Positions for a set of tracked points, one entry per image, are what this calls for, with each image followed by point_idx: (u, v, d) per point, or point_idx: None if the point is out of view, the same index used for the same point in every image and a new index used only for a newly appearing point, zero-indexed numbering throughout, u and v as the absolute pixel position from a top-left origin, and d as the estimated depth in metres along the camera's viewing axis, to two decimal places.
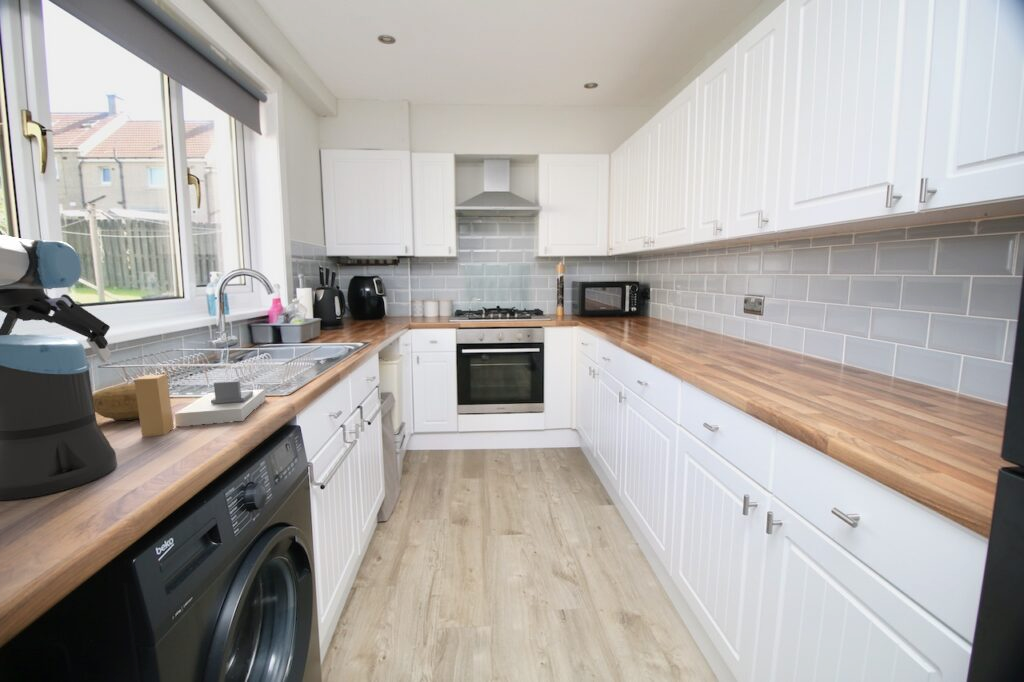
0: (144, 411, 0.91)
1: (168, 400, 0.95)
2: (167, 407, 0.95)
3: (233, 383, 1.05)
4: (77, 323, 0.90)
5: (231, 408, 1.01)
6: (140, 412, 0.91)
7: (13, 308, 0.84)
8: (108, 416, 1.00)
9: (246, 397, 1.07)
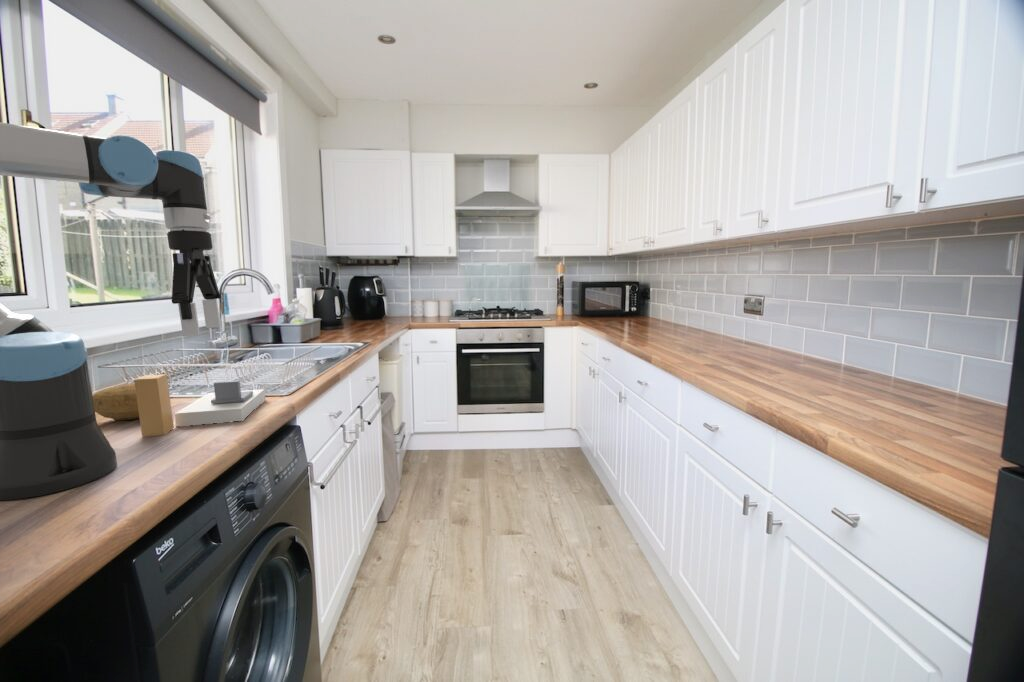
0: (144, 411, 0.91)
1: (168, 400, 0.95)
2: (167, 407, 0.95)
3: (233, 383, 1.05)
4: None
5: (231, 408, 1.01)
6: (140, 412, 0.91)
7: None
8: (108, 416, 1.00)
9: (246, 397, 1.07)
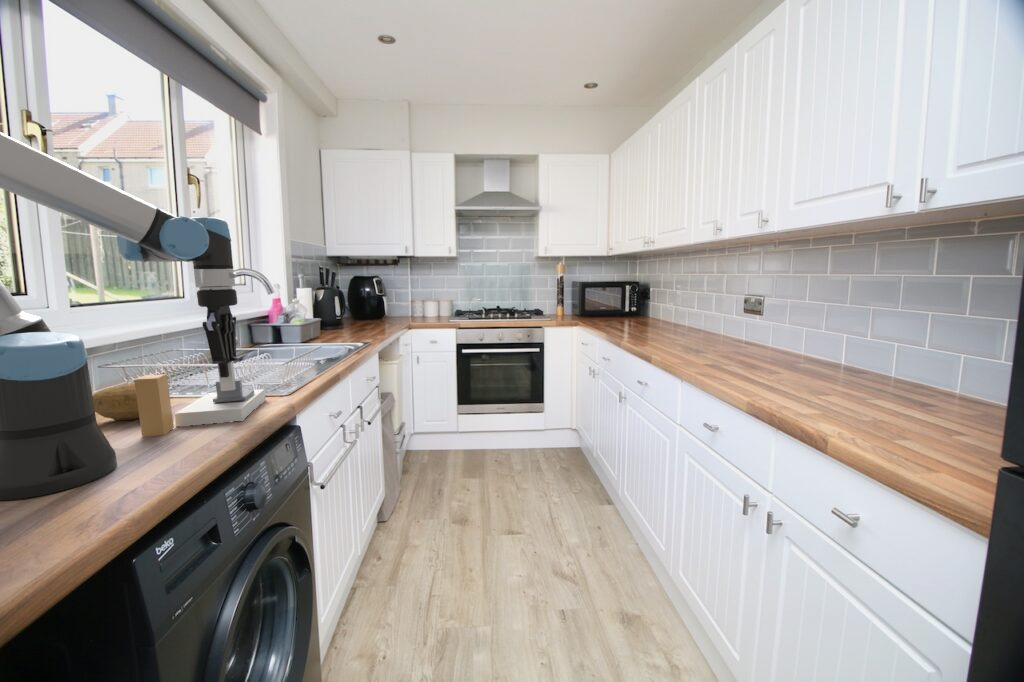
0: (144, 411, 0.91)
1: (168, 400, 0.95)
2: (167, 407, 0.95)
3: (235, 382, 1.06)
4: None
5: (231, 408, 1.01)
6: (140, 412, 0.91)
7: None
8: (108, 416, 1.00)
9: (247, 396, 1.08)
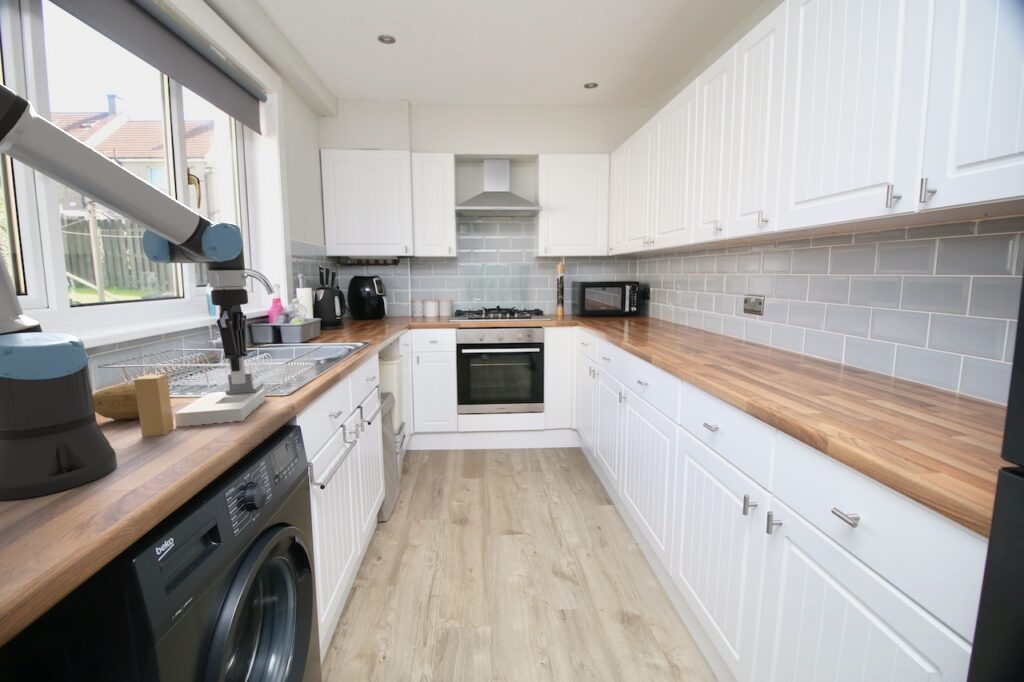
0: (144, 411, 0.91)
1: (168, 400, 0.95)
2: (167, 407, 0.95)
3: (246, 375, 1.13)
4: None
5: (231, 408, 1.01)
6: (140, 412, 0.91)
7: None
8: (108, 416, 1.00)
9: (257, 388, 1.16)
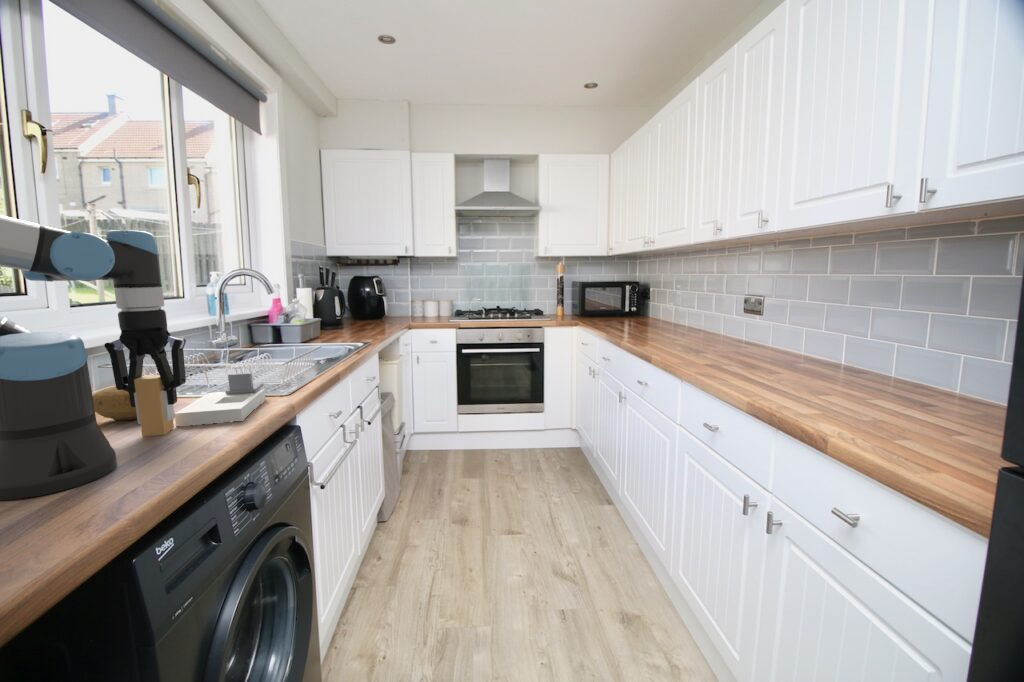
0: (144, 411, 0.91)
1: None
2: None
3: (246, 375, 1.13)
4: (167, 370, 0.93)
5: (231, 408, 1.01)
6: (140, 412, 0.91)
7: (134, 338, 0.90)
8: (108, 416, 1.00)
9: (257, 388, 1.16)
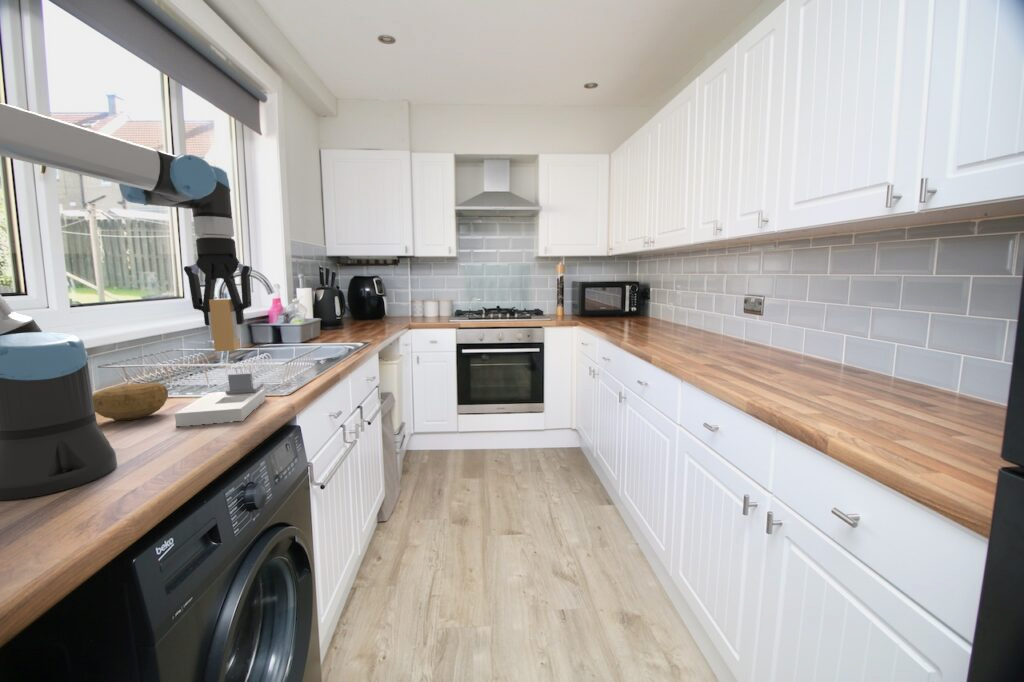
0: (217, 328, 1.03)
1: None
2: None
3: (246, 375, 1.13)
4: (236, 293, 1.05)
5: (231, 408, 1.01)
6: (213, 329, 1.03)
7: None
8: (108, 416, 1.00)
9: (257, 388, 1.16)
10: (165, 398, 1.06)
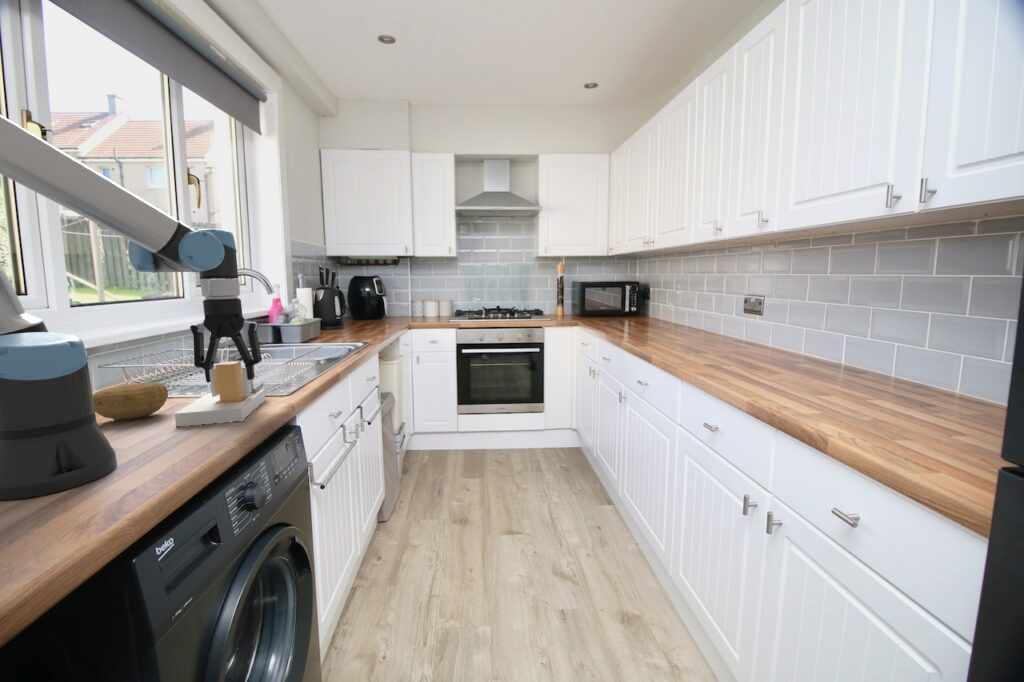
0: (224, 392, 1.05)
1: (242, 383, 1.09)
2: (241, 389, 1.09)
3: None
4: (246, 350, 1.07)
5: (231, 408, 1.01)
6: (220, 393, 1.05)
7: (216, 323, 1.04)
8: (108, 416, 1.00)
9: (257, 388, 1.16)
10: (165, 398, 1.06)
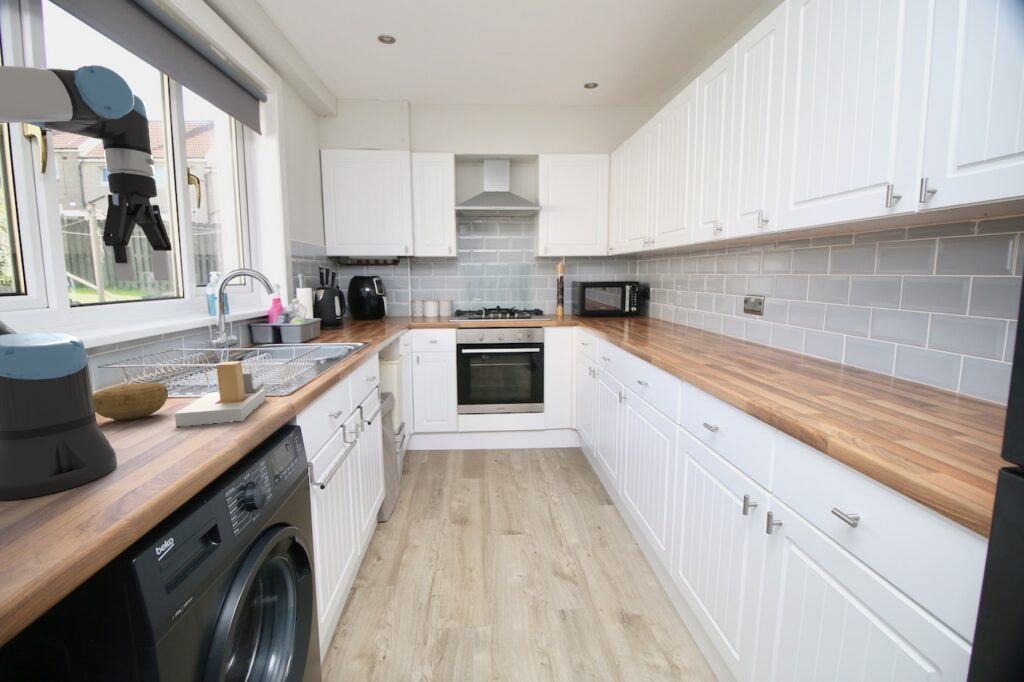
0: (224, 392, 1.05)
1: (242, 384, 1.09)
2: (242, 390, 1.09)
3: (246, 375, 1.13)
4: None
5: (231, 408, 1.01)
6: (221, 393, 1.05)
7: None
8: (108, 416, 1.00)
9: (257, 388, 1.16)
10: (165, 398, 1.06)
